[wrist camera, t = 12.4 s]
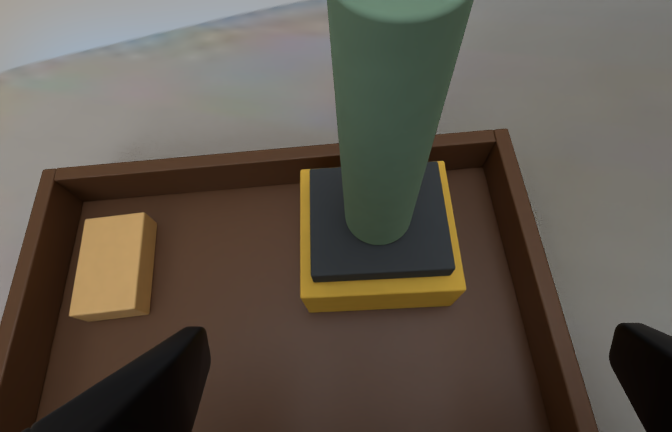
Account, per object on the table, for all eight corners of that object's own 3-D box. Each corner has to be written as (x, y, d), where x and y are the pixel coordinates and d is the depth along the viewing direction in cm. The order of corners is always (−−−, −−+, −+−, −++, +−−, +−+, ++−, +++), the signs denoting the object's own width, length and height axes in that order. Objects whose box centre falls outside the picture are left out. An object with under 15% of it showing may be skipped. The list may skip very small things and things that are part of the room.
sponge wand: (451, 306, 15) (669, 86, 5) (308, 313, 16) (191, 119, 5) (433, 190, 17) (553, -148, 7) (307, 198, 18) (224, -120, 7)
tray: (489, 161, 19) (508, 127, 16) (580, 506, 13) (629, 530, 11) (81, 197, 19) (42, 168, 17) (4, 545, 14) (-71, 577, 11)
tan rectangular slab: (150, 315, 16) (134, 308, 15) (87, 322, 16) (67, 316, 15) (157, 222, 18) (144, 211, 16) (101, 229, 18) (84, 218, 16)
